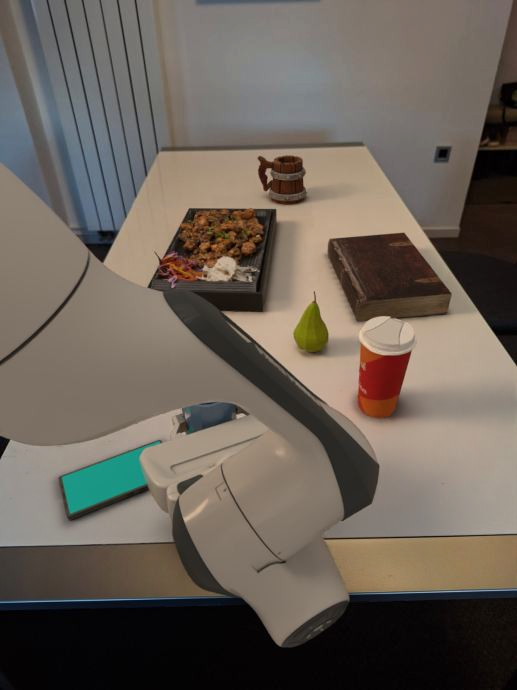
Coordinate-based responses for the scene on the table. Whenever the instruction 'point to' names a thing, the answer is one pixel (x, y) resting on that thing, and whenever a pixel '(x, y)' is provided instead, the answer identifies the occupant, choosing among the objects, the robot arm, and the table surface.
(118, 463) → the smartphone
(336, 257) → the hardback book
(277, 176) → the mug
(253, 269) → the food platter
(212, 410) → the blue cup
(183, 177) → the table surface
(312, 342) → the fruit
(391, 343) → the coffee cup
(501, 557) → the table surface
